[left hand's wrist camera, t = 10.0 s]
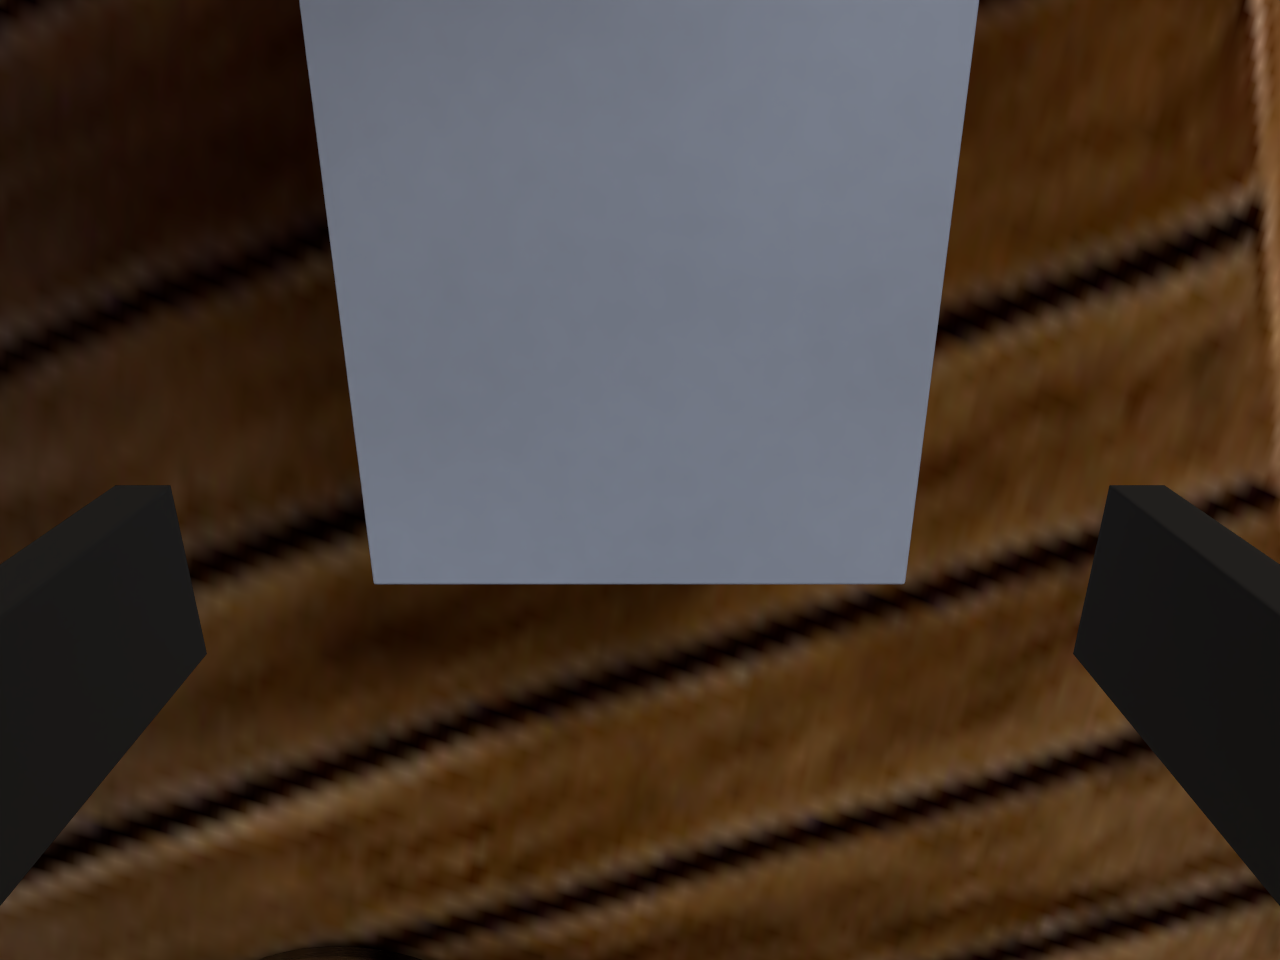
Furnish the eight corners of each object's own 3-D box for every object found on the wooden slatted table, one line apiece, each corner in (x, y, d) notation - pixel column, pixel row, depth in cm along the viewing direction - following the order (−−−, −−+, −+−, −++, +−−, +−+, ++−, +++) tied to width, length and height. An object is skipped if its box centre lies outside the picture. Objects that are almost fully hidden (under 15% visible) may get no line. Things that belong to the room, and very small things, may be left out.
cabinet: (396, -310, 20) (217, -629, 12) (882, -310, 20) (1060, -629, 12) (457, 440, 27) (373, 585, 19) (821, 440, 27) (905, 585, 19)
